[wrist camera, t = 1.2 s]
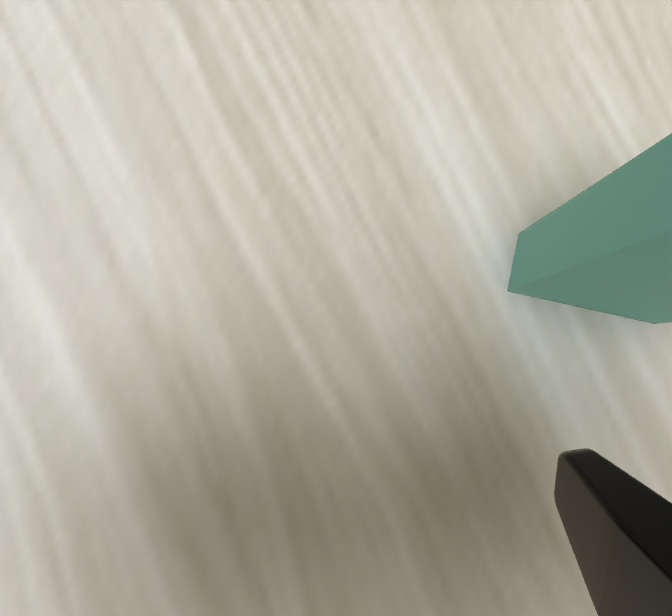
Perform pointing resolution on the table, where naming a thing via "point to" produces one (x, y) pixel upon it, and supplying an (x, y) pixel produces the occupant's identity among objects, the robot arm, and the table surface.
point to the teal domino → (607, 244)
